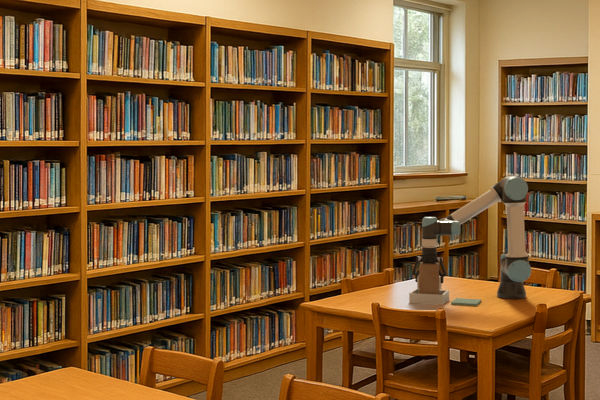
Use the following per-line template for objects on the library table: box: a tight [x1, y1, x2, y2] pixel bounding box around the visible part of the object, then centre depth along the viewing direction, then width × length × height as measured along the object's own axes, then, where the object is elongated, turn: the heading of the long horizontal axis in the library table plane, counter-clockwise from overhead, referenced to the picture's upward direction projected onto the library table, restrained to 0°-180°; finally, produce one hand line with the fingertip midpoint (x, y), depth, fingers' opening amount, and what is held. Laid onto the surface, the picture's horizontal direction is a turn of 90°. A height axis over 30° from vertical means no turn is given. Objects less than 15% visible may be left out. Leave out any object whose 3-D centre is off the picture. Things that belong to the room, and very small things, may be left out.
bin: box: [408, 288, 450, 306], centre depth 432 cm, size 18×15×5 cm
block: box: [418, 261, 440, 295], centre depth 431 cm, size 10×10×20 cm
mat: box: [450, 297, 482, 307], centre depth 426 cm, size 13×13×1 cm
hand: (429, 288), depth 432 cm, fingers closed on block, 11 cm apart
